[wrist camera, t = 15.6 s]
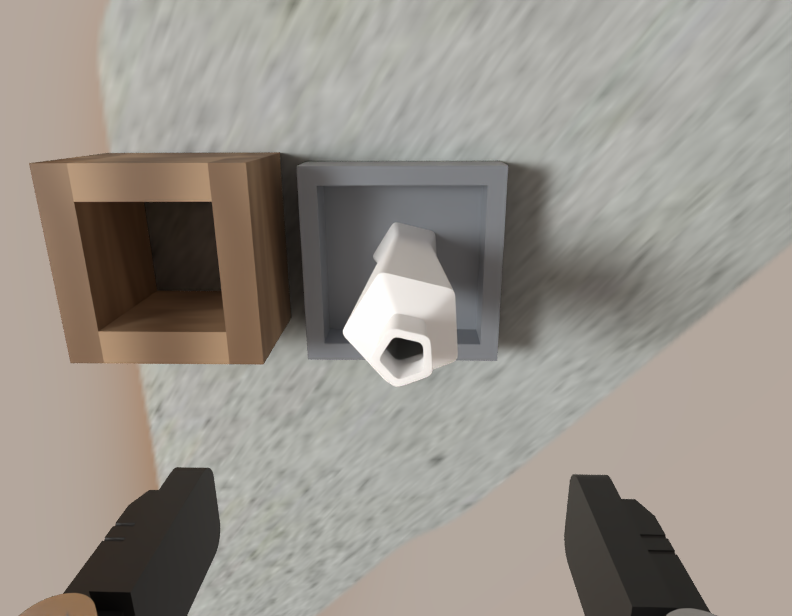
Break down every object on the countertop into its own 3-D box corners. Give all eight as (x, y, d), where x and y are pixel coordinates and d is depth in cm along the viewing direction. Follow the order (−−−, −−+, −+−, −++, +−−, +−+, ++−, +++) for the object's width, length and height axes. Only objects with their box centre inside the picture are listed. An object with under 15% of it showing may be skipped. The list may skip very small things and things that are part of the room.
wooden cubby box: (279, 152, 32) (245, 162, 26) (291, 317, 36) (263, 364, 29) (106, 153, 33) (29, 163, 26) (133, 317, 36) (70, 362, 29)
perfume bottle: (360, 283, 34) (323, 403, 20) (377, 212, 33) (349, 287, 19) (434, 300, 34) (450, 432, 20) (454, 231, 33) (485, 320, 19)
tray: (499, 160, 32) (508, 165, 29) (490, 341, 36) (497, 360, 33) (306, 161, 33) (296, 166, 30) (316, 340, 36) (308, 359, 33)
